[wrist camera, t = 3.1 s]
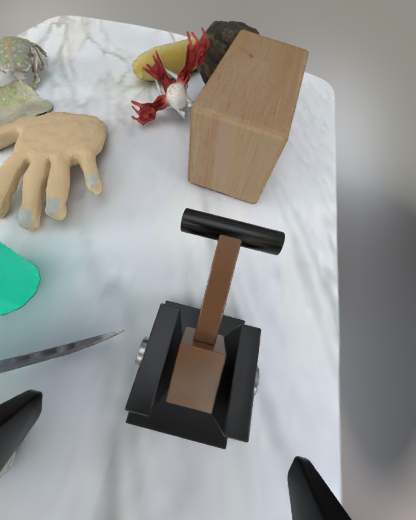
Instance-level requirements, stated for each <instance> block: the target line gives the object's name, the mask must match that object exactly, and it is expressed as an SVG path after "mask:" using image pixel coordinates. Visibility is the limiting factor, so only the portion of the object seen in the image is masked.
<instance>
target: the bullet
mask: <svg viewBox="0 0 416 520" xmlns="http://www.w3.org/2000/svg"><path fill="white" fill-rule="evenodd" d="M197 38H198V37H197ZM198 40H200V39H199V38H198ZM191 41H192V45H193V46H194V45H195V43H196V40H195V38H194V37H191ZM188 44H189V42H188V39H186V40H182V41H178V42H174V43H170V44H166V45H162V46H158V47H154V48H153V49H150V50H148V51H146V52H144V53H143V54H141V55H139V56H138V58H137V59H136V60H135V61H134V62H133V71H134V73H135V75H136V76H137V77H138V78H139V79H142V80H146V81H155V78H153V77H152V76H151V75H149V74H148V73H147V72H146V71H145V70H144V69H143V68H142V67H144V68H147V69H149V68H148V67H147V65H146V64H149V65H150V66H153V65H154V60H153V57H152V56H153V55H154V56H155V58H156V59H157V57H156V52H155V50H157V52H158V54H159V57H160V59H161V61H162V63H163V66H164V68H165V69H167V70H169V71H171V72H173V73H174V74H176V75H178V73H179V71H180V70H181V69H182V68H183V67H184V66H185V60H186V52H187V45H188ZM195 69H196V70H198V69H197V67H196V66H195V67H194V68H193V70H195ZM149 70H150V69H149ZM193 70H192V71H193ZM167 75H168V77H169V78H172V76H171V75H170V74H169V73H167Z"/></svg>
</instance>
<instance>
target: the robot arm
mask: <svg viewBox="0 0 416 520" xmlns="http://www.w3.org/2000/svg"><path fill="white" fill-rule="evenodd" d="M42 396H43V395H42V392H40V391H36V390H28V391H25V392H23V393H22V394H20V395H18V396H16V397H14V398H12V399H10V400H8V401H6V402H4V403H2V404H0V472H1V471H2V469H3V468H4V466H5V465H6V464H7V462H8V461H9V459H10V458H11V456H12V455H13V453H14V452H15V451H16V449H17V448H18V446H19V445H20V443H21V442H22V441H23V439H24V438H25V436H26V435H27V433H28V432H29V430H30V429H31V428H32V426H33V425H34V423H35V422H36V420H37V419H38V417H39V415H40V413H41V410H42ZM288 488H289V496H290V503H291V511H292V519H293V520H351V518H350V517H349V516H348V514H347V513H346V511H345V510H344V508H343V507H342V506H341V504H340V503H339V501H338V500H337V499H336V497H335V496H334V494H333V493H332V491H331V490H330V489H329V487H328V486H327V484H326V483H325V482H324V480H323V479H322V477H321V476H320V474H319V473H318V472H317V470H316V469H315V467H314V466H313V465H312V463H311V462H310V461H309V460H308V459H307V458H303V457H299V456H296V457H295V458H294V460H293V463H292V465H291V467H290V469H289V472H288Z"/></svg>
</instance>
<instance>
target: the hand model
mask: <svg viewBox="0 0 416 520" xmlns="http://www.w3.org/2000/svg"><path fill="white" fill-rule="evenodd" d="M106 136H107V134H106V125H105V124H104V123H103V122H102V121H100V120H99V119H98V118H97V117H95V116H88V115H81V114H72V113H66V112H50V113H46V114H44V115H40V116H34V117H27V118H20V119H18V120H17V121H16V122H13V123H9V124H6V125H2V126H0V149H2V148H5V147H7V146H9V145H11V144H13V143H16V144H15V146H14V150H13V152H12V154H11V156H10V157H9V158H8V159H7V160H6V161H5V162H4V163H3V165H2V166H1V168H0V218H3V217H4V216H5V215H6V214H7V212H8V211H9V209H10V206H11V199H12V196H13V194H14V193H15V191H16V188H17V186H18V184H19V181H20V179H21V177H22V176H23V174H24V172H25V170H27V171H26V173H25V175H24V177H23V186H22V205H21V208H20V209H19V211H18V217H17V220H18V224H19V225H20V226H21V227H23V228H25V229H27V230H32V229H38V228H39V227H40V217H41V211H42V207H41V206H42V199H43V198H44V196H45V189H46V197H47V198H46V208H45V212H46V214H47V215H48V216H50V217H51V218H52V219H54V220H57V221H61V220H63V219H64V218H65V217H66V214H67V209H66V201H67V199H68V193H69V189H70V168H71V166H74V165H80V167H81V169H82V170H83V171H84V176H85V183H86V186H87V188H88V189H89V191H90V192H92V193H94V194H99V193H100V192H101V191H102V188H103V184H102V182H101V178H100V175H99V172H98V168H97V165H96V156H97V155H98V154H99V153H100V152H101V151H102V148H103V146H104V143H105V139H106ZM46 187H47V188H46Z"/></svg>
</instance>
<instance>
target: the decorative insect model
mask: <svg viewBox="0 0 416 520" xmlns="http://www.w3.org/2000/svg"><path fill="white" fill-rule="evenodd" d="M33 51H34V52H35V53H34V52H33ZM42 55H44V57H45V58H46V57H48V56H47V55H46V53H45V51H44V50H43V49H42V48H41V47H40V46H38V45H37V44H35V43H32V42H30V41H29V40H27V39H23V38H19V37H11V36H10V37H4V38H2V39H0V71H1V72H4V73H5V72H11V71H12V74H13V76H15V77H16V78H17V79H18V80H19V81H23V80H22V79H27V77H26V76H25V74H28V73H27V72H26V71H29V70H30V68H31V65H32V71H33V73H34V77H33V78H34V80H33V83H32V84H31V85H30V87H31V88H34V89H35V87H36V85H37V83H39V82H40V78H39V76H38V72H37V65H38V67H39V69H40V71H42V70H44V69H45V68H48V64H47V63H46V62H45V60H44V58H43V56H42ZM38 62H39V64H38ZM5 74H6V73H5Z"/></svg>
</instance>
